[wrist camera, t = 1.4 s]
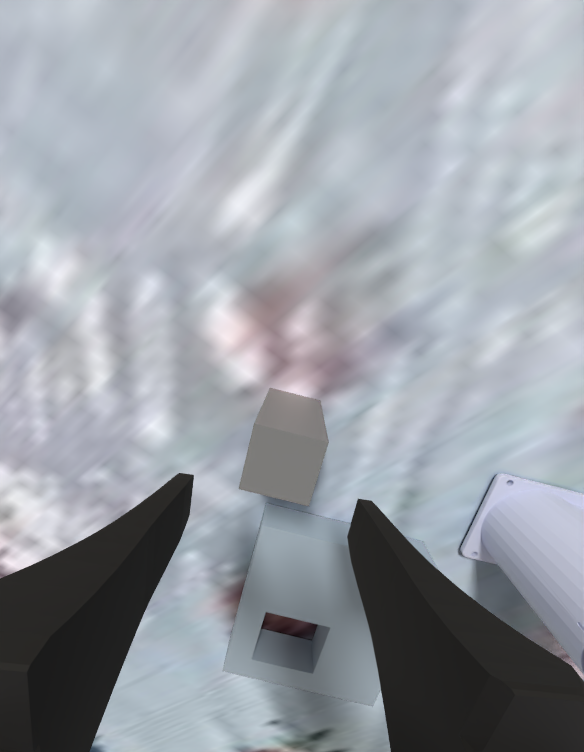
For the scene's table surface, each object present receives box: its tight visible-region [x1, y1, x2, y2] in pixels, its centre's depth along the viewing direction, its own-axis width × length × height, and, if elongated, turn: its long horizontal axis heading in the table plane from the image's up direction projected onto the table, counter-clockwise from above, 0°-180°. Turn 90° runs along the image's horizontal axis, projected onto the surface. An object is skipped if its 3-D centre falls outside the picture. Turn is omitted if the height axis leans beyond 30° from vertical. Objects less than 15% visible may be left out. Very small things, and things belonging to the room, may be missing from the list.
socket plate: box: [223, 503, 438, 706], centre depth 23 cm, size 14×16×4 cm
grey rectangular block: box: [239, 388, 329, 506], centre depth 18 cm, size 4×4×7 cm
